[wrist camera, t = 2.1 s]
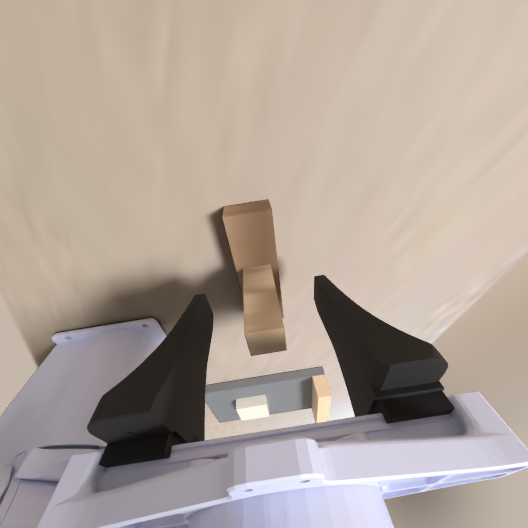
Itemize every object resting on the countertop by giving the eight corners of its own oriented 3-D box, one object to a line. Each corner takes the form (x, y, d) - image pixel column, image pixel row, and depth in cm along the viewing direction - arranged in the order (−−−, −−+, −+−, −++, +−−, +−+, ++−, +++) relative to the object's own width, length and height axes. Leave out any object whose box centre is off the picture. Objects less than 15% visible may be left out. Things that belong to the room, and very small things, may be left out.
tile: (241, 411, 31) (241, 420, 30) (236, 399, 28) (236, 409, 28) (268, 406, 31) (269, 416, 30) (265, 394, 28) (266, 404, 28)
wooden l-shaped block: (248, 306, 20) (253, 389, 14) (224, 205, 14) (213, 273, 8) (280, 301, 20) (297, 382, 14) (267, 198, 14) (289, 261, 8)
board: (220, 415, 33) (218, 443, 31) (201, 386, 28) (196, 417, 25) (319, 399, 33) (327, 425, 31) (322, 366, 28) (331, 395, 25)
